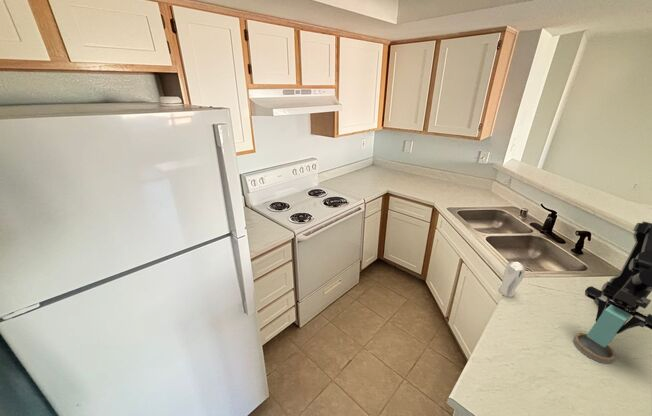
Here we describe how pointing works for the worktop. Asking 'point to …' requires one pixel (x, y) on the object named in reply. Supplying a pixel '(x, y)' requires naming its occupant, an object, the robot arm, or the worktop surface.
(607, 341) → the teal rectangular block
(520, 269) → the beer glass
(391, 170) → the worktop surface
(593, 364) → the worktop surface
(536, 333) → the worktop surface
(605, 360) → the groove tray
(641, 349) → the worktop surface
